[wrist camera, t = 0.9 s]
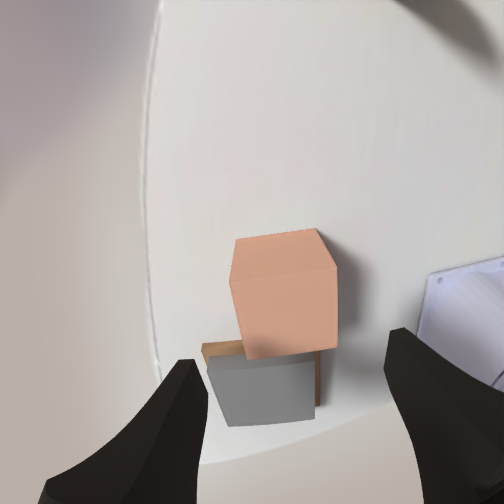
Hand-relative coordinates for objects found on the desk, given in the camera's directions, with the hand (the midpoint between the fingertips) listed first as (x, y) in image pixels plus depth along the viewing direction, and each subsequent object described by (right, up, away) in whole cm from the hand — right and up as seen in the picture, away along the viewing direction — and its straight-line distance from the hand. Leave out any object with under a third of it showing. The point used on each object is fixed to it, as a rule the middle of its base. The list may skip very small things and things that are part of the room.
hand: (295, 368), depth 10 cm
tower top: (-1, -6, +10) cm, 12 cm away
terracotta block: (0, +3, +7) cm, 8 cm away
